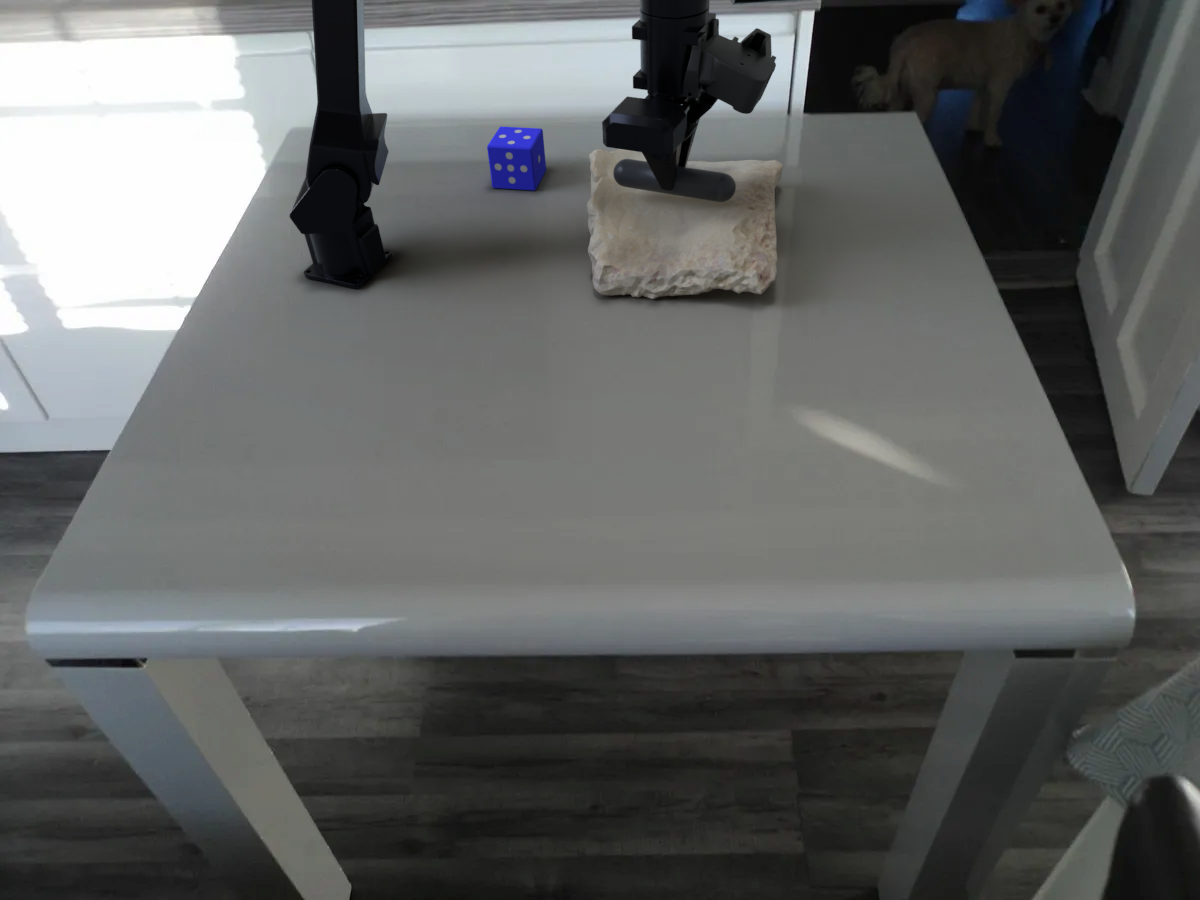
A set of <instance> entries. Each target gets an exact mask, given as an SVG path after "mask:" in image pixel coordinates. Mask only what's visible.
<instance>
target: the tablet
mask: <svg viewBox="0 0 1200 900" xmlns="http://www.w3.org/2000/svg"><path fill="white" fill-rule="evenodd" d="M588 157H589V160H590V166H589V170H590V174H591V175H590V196H589V199H588V200H587V202H586V210H587V214H588V219H587V226H588V231H589V234H590V237H589V238H590V239H589V245H588V248H587V253H588V254H587V255H588V256H589V258H590V259H589V260H590V262H591V274H592V279H591V281H592V284H593V288H594V290H595V291H596V292H597V293H599V294H600V295H602V296H625V295H631V298H640V297H645V298H648V299H651V300H655V299H657V298H661V297H662V298H663V297H667V296H669V297H674V296H675V297H676V296H690V295H691V296H693V295H695V296H696V295H697V296H698V295H699V294H703V293H704V294H705V293H709V292H711V291H713V290H723V291H733V292H734V293H737V294H741V293H742V292H745V293H747V292H748V293H753V294H756V295H762V294H763V293H765V291H766V290H767V289H768V288H769V287H770V286H771V285H772V284H773V283H774V282H775V281H776V276H777V275H778V274H777V273H778V270H777V264H778V255H777V254H778V251H777V243H778V242H777V228H776V199H775V198H776V197H775V196H776V195H775V194H776V193H775V189H776V188H777V186H778V184H779V183H780V181H781V180H782V179H781V178H782V173H783V168H784V166H783V164H782V163H781V162H780V161H778V160H777V159H772V160H770V159H769V160H760V159H745V160H729V161H725V160H724V161H723V160H721V161H704V160H688V161H687V165H686V167H687V168H694V169H701V170H707V171H714V172H721V173H726V174H728V175H730V176H731V177H732V178H733V179H734V181H735V184H736V190H735V193H734V195H733V196H732V197H731V198H730V199H729V200H727V201H725V202H716V201H710V200H703V199H697V198H691V197H685V196H678V195H672V194H666V193H659V192H653V191H647V190H640V189H634V188H628V187H623V186H621V185H619V184H618V183H617V182H616V181H615V179H614V175H613V171H614V167H615V165H616V164H617V163H618V162H619V161H621V160H623V159H633V160H640V161H646V159H645V157H644V155H643V153H642V152H637V151H631V150H624V149H615V150H610V151H607V150H604V149H601V148H597V149H594V150H593V151H592V152H591V153H589V154H588Z"/></svg>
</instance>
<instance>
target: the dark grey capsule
mask: <svg viewBox="0 0 1200 900" xmlns="http://www.w3.org/2000/svg"><path fill="white" fill-rule="evenodd" d="M613 175H614V179H615V181H616V182H617V183H618V184H619V185H621V186H623V187H628V188H634V189H640V190H647V191H653V192H659V193H666V194H672V195H678V196H685V197H691V198H697V199H703V200H710V201H716V202H725V201H727V200H729V199H730V198H731V197H732V196H733V195H734V193H735V190H736V184H735V181H734V179H733V178H732V177H731V176H730V175H728V174H726V173H721V172H714V171H707V170H701V169H694V168H687V167H680V166H678V168H677V174H676V179H675V184H674V188H673V190H672V191H667V190H662V189H661V187H660V185H659V184H658V182H657V180H656V178H655V176H654V174H653V172H652V170H651V168H650V166H649V164H648V163H647V161H640V160H633V159H623V160H621V161H619V162H618V163H617V164H616V165H615V167H614V171H613Z"/></svg>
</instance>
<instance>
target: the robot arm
mask: <svg viewBox="0 0 1200 900" xmlns="http://www.w3.org/2000/svg"><path fill="white" fill-rule="evenodd" d="M729 1H730V4H731V5H732V6H736V5H753V4H768V3H784V2H785V3H787V2H800V1H801V0H729ZM311 11H312V13H311V15H312V29H313V30H312V31H313V44H314V45H313V48H314V64H315V65H314V66H315V82H316V83H315V84H316V99H317V100H316V101H317V103H316V110H315V116H314V120H313V125H312V132H311V136H310V141H309V146H308V157H307V161H306V162H307V163H306V169H305V170H306V171H305V177H304V179H303V181H302V184H301V186H300V189H299V191H298V194H297V196H296V198H295V201H294V203H293V204H292V205H293V206H292V208H291V211H290V213H289V219H290V220H291V221H292V223H293V225H294V226H295V227H296V229H297V230H298V232H299V233H300V234H302V235H304V239H305V242H306V245H307V248H308V251H309V254H310V259H311V262H312V264H310V265H309V266H308V267H307V268H306V269H305V270H304V271H303V276H304V277H305V278H307V279H311V280H316V281H320V282H324V283H330V284H335V285H338V286H343V287H346V288H347V287H348V288H353V289H359V288H360V287H361V288H362V287H363V285H364V284H365V283H366V282H367V281H369V279H371V278H372V277H373V276H374V275H375V274H376V273H377V272H378V271H379V270H380V269H382V268H383V266H384V265H386V263H388V261H390V260H391V259H392V258H393V255H394V254H393V251H392V250H389V249H385V248H384V245H383V244H384V243H383V241H382V236H381V233H380V232H381V231H380V228H379V225H378V224H377V223H375V218H374V215H373V210H372V207H371V206H367V205H365V204H366V203H367V202H368V201H369V199H370V197H371V195H372V191H373V188H374V185H376V186H380V183H381V180H382V176H383V172H384V169H385V166H386V162H387V159H388V155H389V149H388V146H387V144H386V139H385V132H386V126H387V121H388V114H387V113H386V112H377V113H375V112H373V111H372V108H371V105H370V103H369V100H368V96H367V91H366V89H367V88H366V46H365V43H366V41H365V0H311ZM631 40H637V41H639V43H640V44H639V47H640V48H639V49H640V53H639V55H640V69H639V70H638V71H637V72H636V73H635V74H634V75H633V76H632V89H633V90H643V91H647V95H646V96H645V98H642V97H637V96H636V97H635V96H626V97H624V99H623V100H622V101H621V102H620V103H619V104H618V105H616V106H615V107H614V108H613V110H612V111H611V112H610V113H609V114H608V115H607V116H606V117H605V118H604V119H603V120H602V122H601V126H602V128H601V129H602V144H603V145H604V146H605V147H606V148H609V149H616V150H619V149H624V150H631V151H636V152H639V153H643V155H644V157H645V159H646V161H647V163H648V164H649V166H650V168H651V170H652V172H653V174H654V176H655V178H656V180H657V182H658V184H659V185H660V187H661V189H662V190H667V191H672V190H673V188H674V184H675V179H676V174H677V168H678V166H680V167H686V165H687V161H689V157H690V153H691V150H692V146H693V144H694V140H695V136H696V132H697V129H698V126H699V123H700V119H701V118H702V117H704V115H705V114H706V113H708V112H709V111H710V110H711V109H712V108H713V107H714V105H715V104H716V103H717V101H721V102H723V103H725V104H727V105H729V106H731V107H732V109H733V110H734V111H736V112H738V113H740V114H745V115H748V114H751V113H753V111H754V109H755V107H756V106H757V104H759V102H760V101H761V100H762V97H763V95H764V94H765V92H766V91H765V90H766V89H767V87H768V84H769V82H770V80H771V78H772V76H773V73H774V72H775V70H776V67H777V63H776V60H777V56H775V55H772V53H773V52H772V35H771V34H770V33H768V32H766V31H764V30H762V29H760V28H759V27H756V28H755V29H753V30H752V31H751V32H750V33H749V34H748V35H746V36H745V37H744V38H743V39H742V40H741V41H739V40H740V38H739V37H737V36H733V38H732V39H730V38H727V37H725V36H722V35H720V19H719V18H717V13H715V12H710V0H639V19H638V20H637V21H636V22H635V23H634V24H633V25H632V26H631Z"/></svg>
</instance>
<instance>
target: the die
mask: <svg viewBox="0 0 1200 900" xmlns="http://www.w3.org/2000/svg"><path fill="white" fill-rule="evenodd" d="M486 150H487V157H488V165H489V171H490V178H491V179H490V180H491V187H492V188H493V189H498V190H499V189H500V190H517V191H531V192H532V191H533V192H535V191H536V190H537V188H538V187H539V184H540V183H541V181H542V179H543V177H544V175H545V173H546V172H547V165H546V163H547V162H546V153H545V141H544V130H543V129H542V128H538V127H537V128H536V127H519V126H518V127H516V126H499V127H498V129H497V131H496V132H495V133H494V135H493V137H492V138H491V139H490V141H489V143H488V144H487V146H486Z"/></svg>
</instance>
